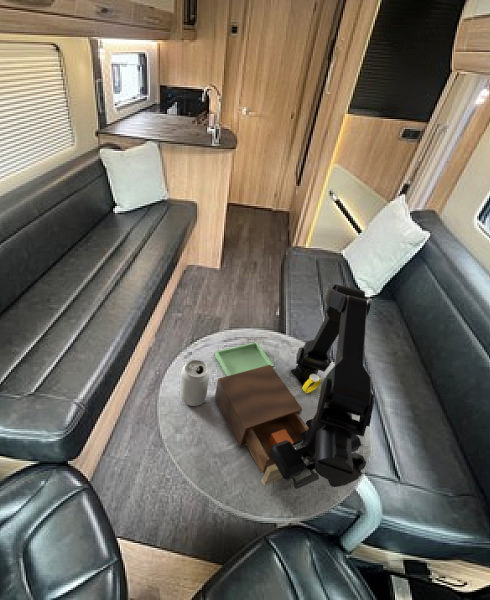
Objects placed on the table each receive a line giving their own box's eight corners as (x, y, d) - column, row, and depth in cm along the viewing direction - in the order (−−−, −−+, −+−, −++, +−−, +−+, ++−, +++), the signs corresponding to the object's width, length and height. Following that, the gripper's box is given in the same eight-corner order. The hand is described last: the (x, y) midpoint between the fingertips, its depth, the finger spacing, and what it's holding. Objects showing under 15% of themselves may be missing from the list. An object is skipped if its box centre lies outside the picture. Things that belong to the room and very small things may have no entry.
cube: (281, 437, 81) (284, 428, 78) (290, 452, 78) (294, 443, 76) (267, 442, 79) (271, 433, 77) (276, 457, 76) (280, 448, 74)
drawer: (329, 479, 75) (339, 466, 71) (274, 505, 69) (281, 492, 65) (284, 413, 88) (290, 398, 84) (235, 430, 82) (238, 415, 79)
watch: (312, 383, 99) (318, 370, 95) (319, 390, 97) (325, 377, 94) (298, 390, 96) (304, 377, 93) (305, 397, 94) (311, 384, 91)
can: (203, 410, 87) (207, 381, 80) (176, 404, 88) (178, 375, 81) (208, 389, 93) (213, 360, 86) (183, 383, 94) (186, 354, 87)
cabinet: (294, 427, 86) (302, 408, 81) (239, 447, 80) (245, 428, 75) (264, 382, 97) (270, 364, 92) (214, 397, 91) (217, 378, 86)
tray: (255, 345, 110) (256, 341, 109) (272, 369, 102) (274, 365, 100) (214, 355, 104) (215, 351, 103) (230, 381, 96) (231, 377, 95)
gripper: (315, 487, 51) (290, 526, 60) (397, 449, 58) (363, 489, 67) (277, 427, 59) (260, 469, 68) (353, 400, 66) (328, 441, 75)
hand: (304, 468), depth 70 cm, fingers closed
